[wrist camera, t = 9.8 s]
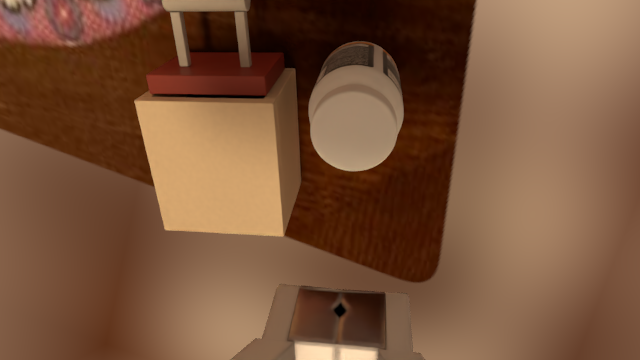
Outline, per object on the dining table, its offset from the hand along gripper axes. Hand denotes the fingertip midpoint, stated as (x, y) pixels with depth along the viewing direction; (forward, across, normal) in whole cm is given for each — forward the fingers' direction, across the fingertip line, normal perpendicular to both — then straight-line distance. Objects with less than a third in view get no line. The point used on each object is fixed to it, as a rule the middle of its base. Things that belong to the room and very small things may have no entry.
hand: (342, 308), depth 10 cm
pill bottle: (+24, +1, +2) cm, 24 cm away
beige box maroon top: (+24, +10, +6) cm, 27 cm away
